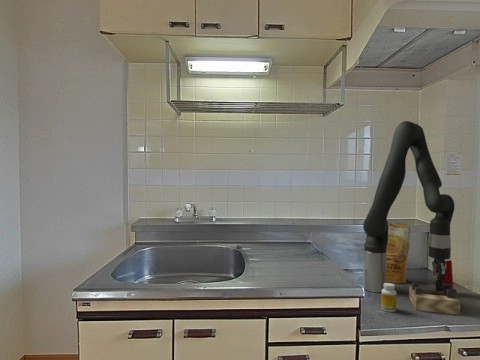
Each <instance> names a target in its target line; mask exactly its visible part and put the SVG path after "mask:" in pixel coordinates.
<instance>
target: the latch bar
mask: <svg viewBox="0 0 480 360" xmlns="http://www.w3.org/2000/svg"><path fill="white" fill-rule="evenodd" d="M415 287H417V288H421V289H422V290H421V293H434V294H446V290H447V289H449V288H443V289H442V290H437V289H436V288H435V287H434V286H433V287H432V286H420V285H418V286H415ZM415 287H414V288H415Z"/></svg>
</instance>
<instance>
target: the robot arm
mask: <svg viewBox="0 0 480 360" xmlns="http://www.w3.org/2000/svg"><path fill="white" fill-rule="evenodd" d="M409 149H410V151H411V153H412V156H413V158H414V163H415V170H416V174H417V177H418V179H419V182H420V185H421V186H422V189H423V191H422V192H423V197H424V203H425V206H426V208H427V209H428V210H429V211H430V212H431V213H434V214H435V215H434V217H433V218H432V219H430V222H429V236H428V257H430V258H431V259H433V260H432V261H431V266H432V271H433V272H432V273H433V276H434V279H435V284H434V285H435V288H436V289H437V290H442V289H443V280H445V278H446V274H447V270H445V268H446V263H445V259H451V251H452V248H451V247H452V246H451V245H452V242H451V241H452V239H451V222H452V220H453V217H454V213H455V206H456V205H455V200H454V199H453V197H452V196H451V195H449V194H445V193H444V194H443V193H442V194H441V193H440V188H441V187H442V186H443V184H442V180H441V177H440V175H439V173H438V171H437V168H436V166H435V164H434V162H433V159H432V157H431V153H430V150H429V147H428V143H427V140H426V136H425V132H424V129H423V127H422V126H421V125H420V124H418V123H414V122H412V121H410V120H409V121H408V120H405V121H402V122H401V123H399V124H398V125H397V126H396V128H395V130H394V132H393V136H392V141H391V146H390V149H389V154H388V156H387V159H386V160H385V164H384V167H383V170H382V171H381V175H380V177H379V181H378V184H377V187H376V191H375V195H374V198H373V201H372V205H371V207H370V208H369V211H368V213H367V215H366V218H364V221H363V225H362V226H363V227H362V228H363V231H364V233H365V234H366V239H365V242H364V246H363V247H364V250H363V251H364V255H363V256H364V257H363V278H362V279H363V281H362V283H363V285H362V286H363V287H362V288H363V290H364V289H365V290H364V291H368V292H372V293H382V289H384V287H383V286H384V283H387V282H386V250H387V244H388V223H389V222H388V220H387V219H388V215H389V212H390V210H391V207H392V206H393V204H394V202H395V201H396V199H397V197H398V195H399V194H400V192H401V189H402V186H403V184H404V181H405V178H406V169H407V168H406V159H407V154H408V152H409Z"/></svg>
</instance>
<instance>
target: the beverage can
mask: <svg viewBox="0 0 480 360" xmlns="http://www.w3.org/2000/svg"><path fill="white" fill-rule="evenodd" d="M445 263H446V268H445V270H447V274H446V278H445V280H443V284H451V289H454V277H453V276H454V275H453V261H452V259H451V258H450V259H445Z"/></svg>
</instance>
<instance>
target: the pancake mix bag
mask: <svg viewBox="0 0 480 360" xmlns="http://www.w3.org/2000/svg"><path fill="white" fill-rule="evenodd" d="M410 233H411V231H410V226H409V225H408V224H407V223H400V222H399V223H398V222H388V244H387V250H386V283H391V284H397V285H398V284H399V285H400V284H406V273H407V265H408V260H409V259H408V258H409V249H410Z"/></svg>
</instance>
